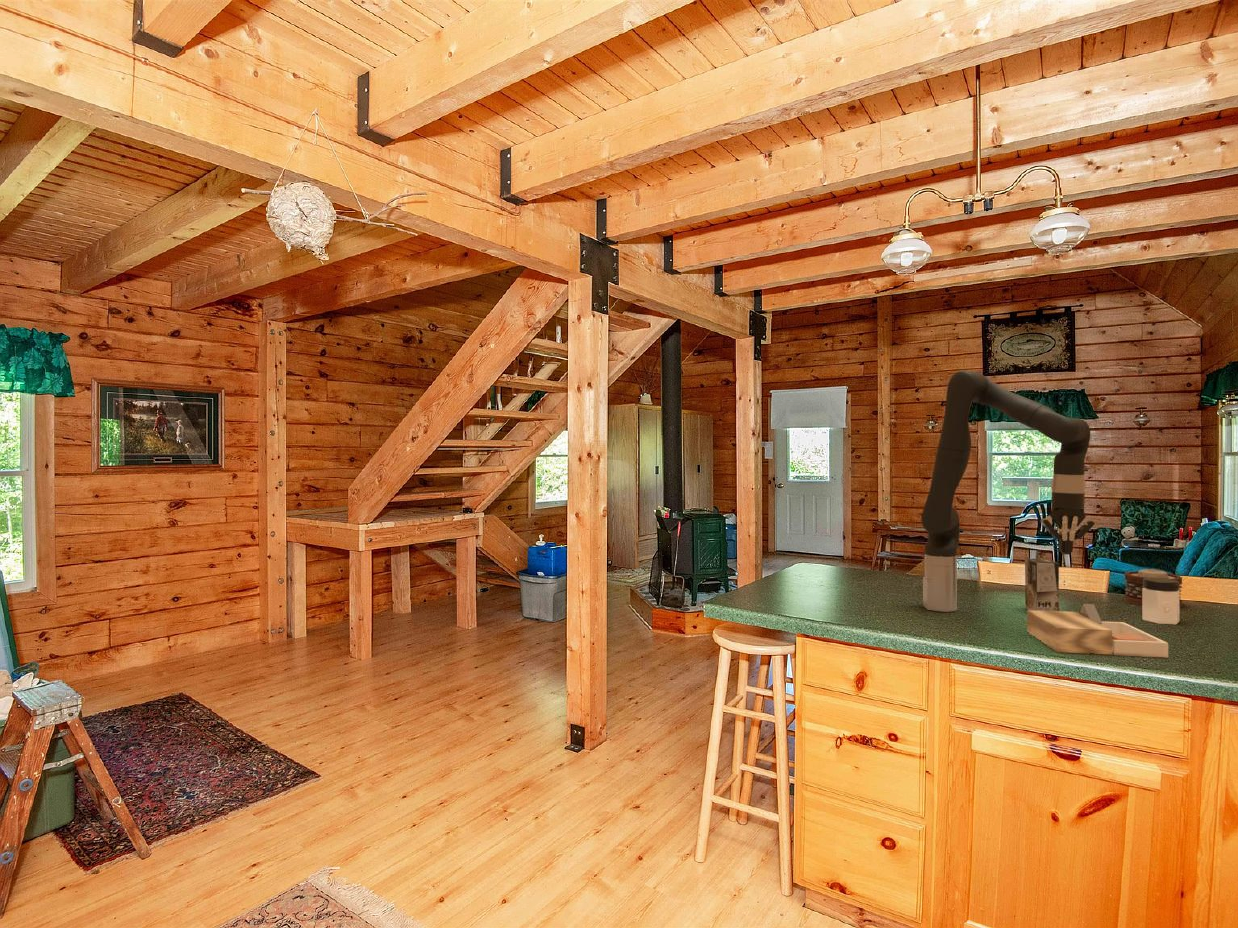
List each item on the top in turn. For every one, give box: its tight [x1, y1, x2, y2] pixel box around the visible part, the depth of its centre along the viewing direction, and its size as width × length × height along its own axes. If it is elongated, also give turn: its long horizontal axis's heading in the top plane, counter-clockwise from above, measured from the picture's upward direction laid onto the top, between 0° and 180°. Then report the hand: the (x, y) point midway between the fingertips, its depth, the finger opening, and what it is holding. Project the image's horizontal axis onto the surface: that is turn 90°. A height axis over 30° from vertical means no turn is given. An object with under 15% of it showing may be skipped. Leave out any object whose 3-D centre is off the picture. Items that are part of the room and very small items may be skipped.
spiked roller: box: [1124, 568, 1184, 609], centre depth 215 cm, size 15×11×15 cm
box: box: [1101, 621, 1169, 659], centre depth 171 cm, size 11×20×4 cm, turn 168°
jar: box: [1141, 578, 1180, 626], centre depth 194 cm, size 9×8×12 cm
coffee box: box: [1024, 558, 1060, 611], centre depth 206 cm, size 9×6×16 cm
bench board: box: [1026, 609, 1113, 655], centre depth 173 cm, size 12×19×6 cm, turn 168°
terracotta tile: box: [1112, 633, 1145, 641], centre depth 168 cm, size 6×6×2 cm
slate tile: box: [1078, 603, 1103, 624], centre depth 177 cm, size 6×6×2 cm
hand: (1065, 553), depth 183 cm, fingers closed
